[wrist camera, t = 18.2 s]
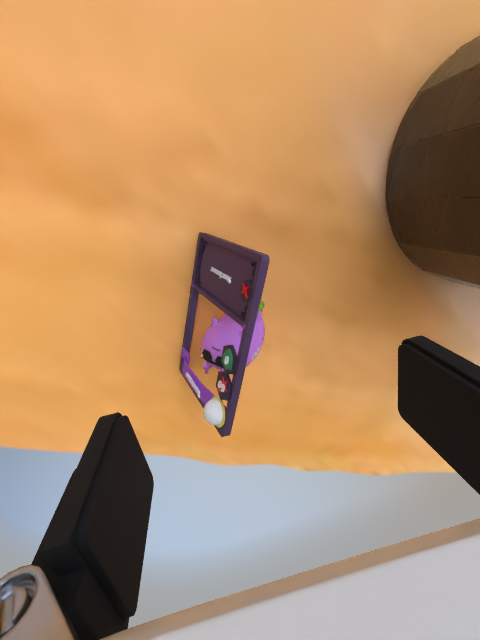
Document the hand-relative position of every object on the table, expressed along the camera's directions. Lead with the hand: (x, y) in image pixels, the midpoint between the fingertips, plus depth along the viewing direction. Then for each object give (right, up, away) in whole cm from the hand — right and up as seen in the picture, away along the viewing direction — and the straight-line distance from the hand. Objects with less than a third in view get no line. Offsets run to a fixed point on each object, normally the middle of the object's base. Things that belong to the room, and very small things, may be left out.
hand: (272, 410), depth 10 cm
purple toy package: (-2, +4, +9) cm, 10 cm away
